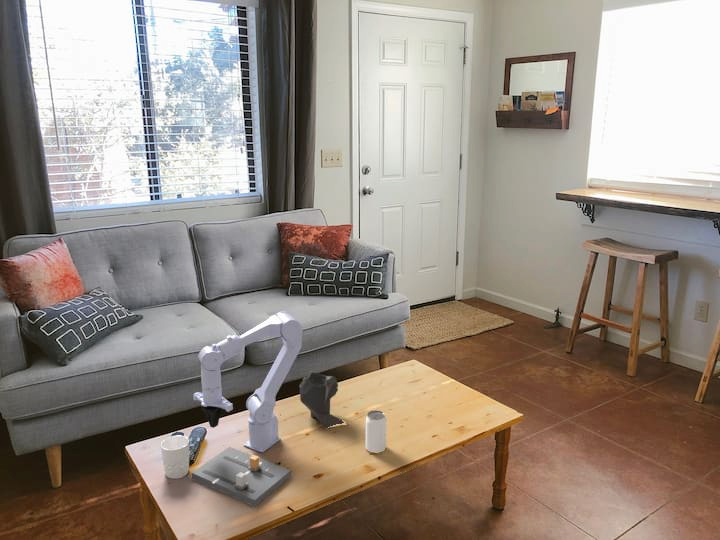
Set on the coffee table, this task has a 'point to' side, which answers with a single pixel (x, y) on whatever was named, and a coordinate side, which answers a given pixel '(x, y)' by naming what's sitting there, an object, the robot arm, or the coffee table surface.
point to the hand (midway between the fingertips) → (214, 425)
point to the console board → (232, 462)
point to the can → (375, 431)
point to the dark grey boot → (319, 397)
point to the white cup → (175, 456)
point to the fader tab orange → (254, 463)
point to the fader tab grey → (241, 481)
